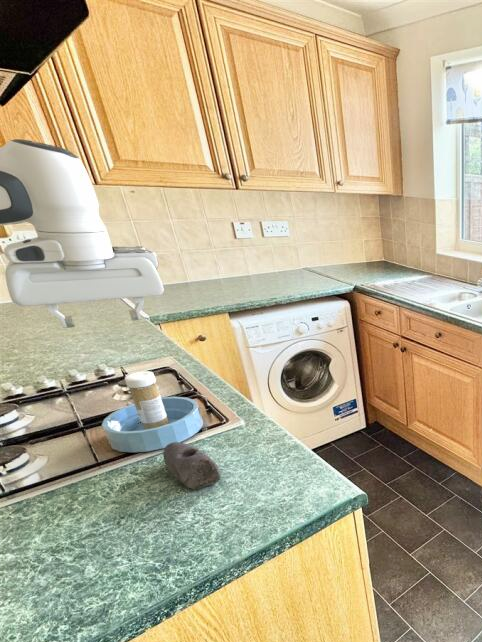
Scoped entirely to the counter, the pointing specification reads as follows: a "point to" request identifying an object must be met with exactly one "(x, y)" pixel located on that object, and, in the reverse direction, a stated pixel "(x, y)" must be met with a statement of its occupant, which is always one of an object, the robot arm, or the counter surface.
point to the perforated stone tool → (191, 465)
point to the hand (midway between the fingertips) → (104, 323)
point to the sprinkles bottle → (147, 399)
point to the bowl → (134, 438)
